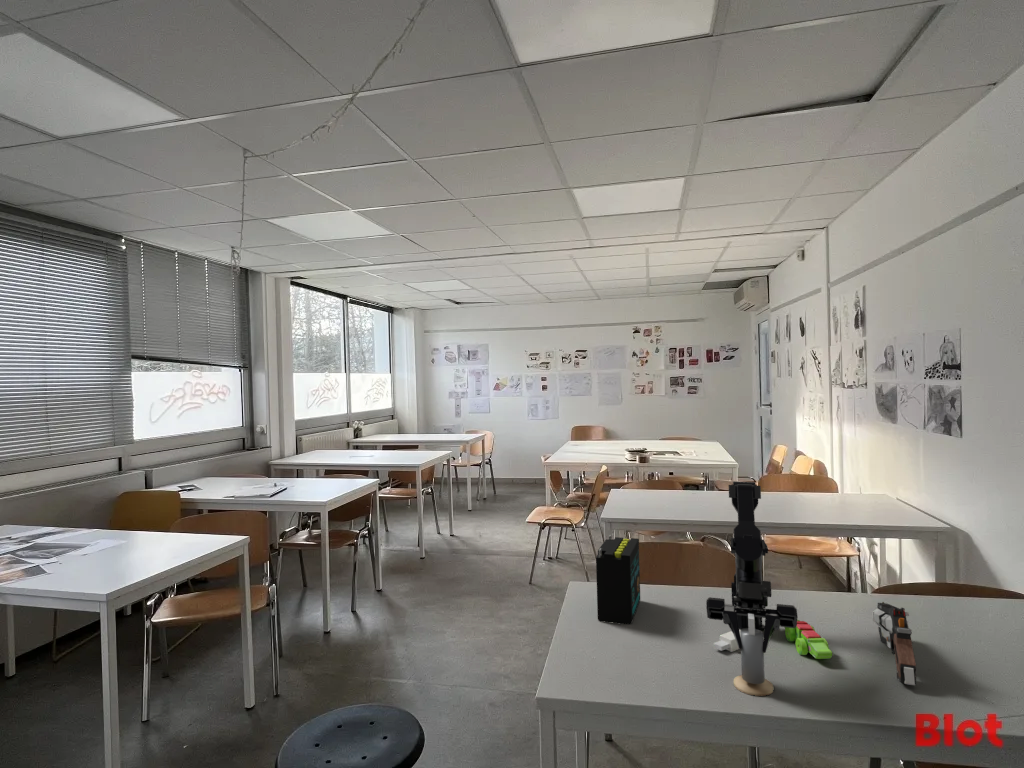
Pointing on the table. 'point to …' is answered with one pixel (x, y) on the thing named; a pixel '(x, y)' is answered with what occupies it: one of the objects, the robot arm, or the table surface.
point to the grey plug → (752, 653)
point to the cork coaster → (753, 687)
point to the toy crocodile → (808, 641)
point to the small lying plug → (727, 642)
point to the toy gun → (897, 639)
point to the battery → (618, 580)
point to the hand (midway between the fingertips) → (752, 650)
